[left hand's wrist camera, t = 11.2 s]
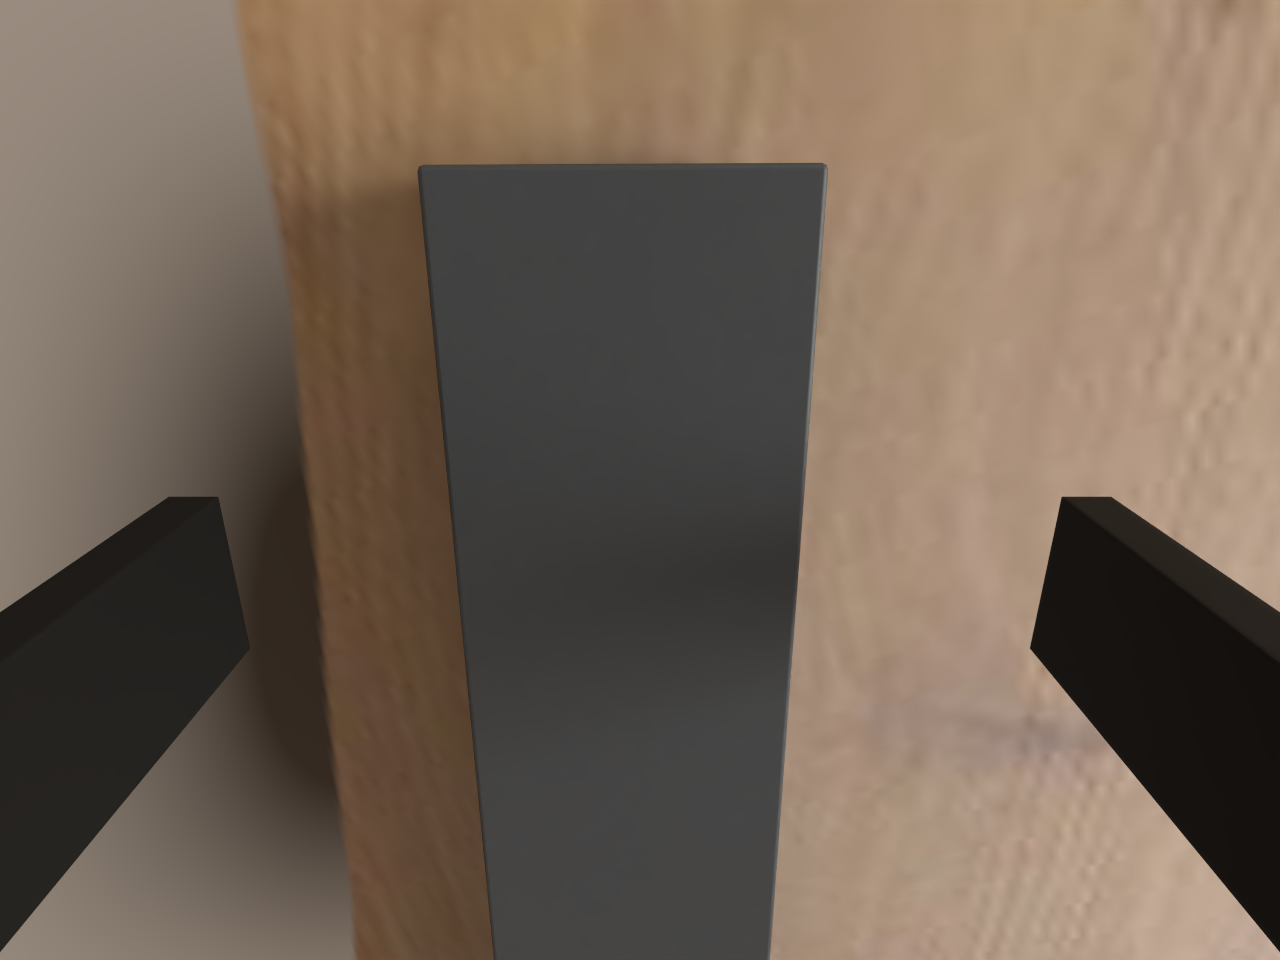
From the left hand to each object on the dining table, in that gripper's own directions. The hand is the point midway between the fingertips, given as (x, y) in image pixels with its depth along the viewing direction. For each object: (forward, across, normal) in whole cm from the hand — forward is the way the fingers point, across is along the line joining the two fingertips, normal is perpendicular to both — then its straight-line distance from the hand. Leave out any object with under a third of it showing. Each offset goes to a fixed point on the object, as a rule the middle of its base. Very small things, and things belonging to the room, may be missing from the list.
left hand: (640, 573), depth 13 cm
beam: (+7, 0, -24) cm, 25 cm away
